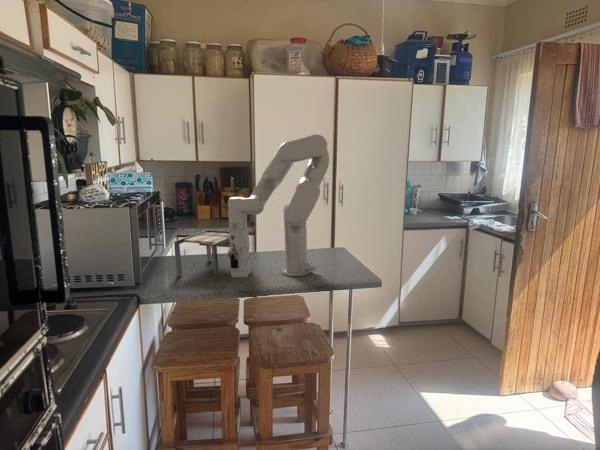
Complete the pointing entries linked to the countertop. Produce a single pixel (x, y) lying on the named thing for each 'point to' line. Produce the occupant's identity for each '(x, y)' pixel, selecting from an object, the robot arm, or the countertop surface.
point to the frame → (214, 252)
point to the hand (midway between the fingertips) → (240, 264)
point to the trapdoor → (209, 239)
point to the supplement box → (242, 264)
